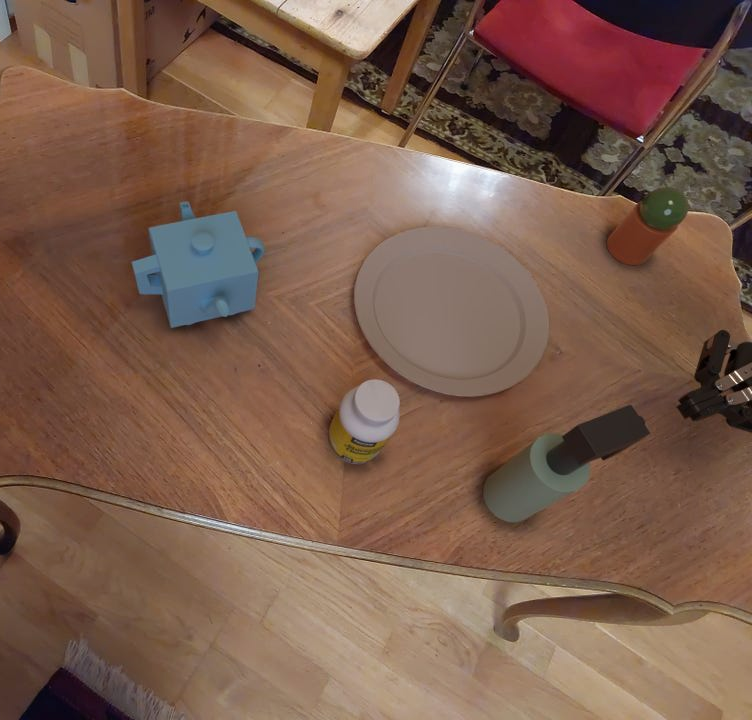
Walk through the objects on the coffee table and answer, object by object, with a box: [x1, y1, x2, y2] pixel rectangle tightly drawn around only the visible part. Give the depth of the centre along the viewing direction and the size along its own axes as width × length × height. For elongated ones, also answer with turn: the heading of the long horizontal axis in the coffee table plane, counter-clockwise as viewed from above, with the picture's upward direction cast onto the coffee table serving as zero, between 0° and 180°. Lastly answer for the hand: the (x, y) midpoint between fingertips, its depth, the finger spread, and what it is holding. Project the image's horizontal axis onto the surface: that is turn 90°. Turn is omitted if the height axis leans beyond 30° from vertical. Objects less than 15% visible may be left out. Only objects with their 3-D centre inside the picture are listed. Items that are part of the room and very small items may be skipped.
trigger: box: [600, 440, 641, 461], centre depth 65 cm, size 1×3×5 cm, turn 21°
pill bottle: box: [327, 378, 401, 465], centre depth 72 cm, size 6×6×12 cm
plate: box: [353, 226, 550, 397], centre depth 85 cm, size 26×26×2 cm
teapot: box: [131, 200, 266, 329], centre depth 79 cm, size 16×18×11 cm
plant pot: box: [606, 186, 690, 266], centre depth 89 cm, size 6×6×11 cm
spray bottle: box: [482, 404, 651, 523], centre depth 67 cm, size 8×6×20 cm
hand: (685, 410), depth 66 cm, fingers closed
